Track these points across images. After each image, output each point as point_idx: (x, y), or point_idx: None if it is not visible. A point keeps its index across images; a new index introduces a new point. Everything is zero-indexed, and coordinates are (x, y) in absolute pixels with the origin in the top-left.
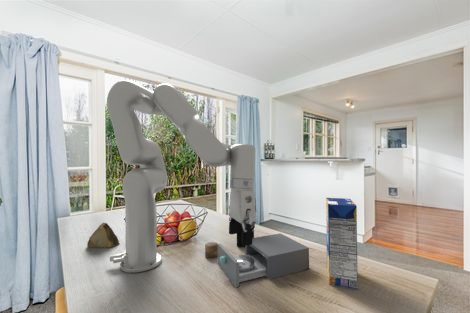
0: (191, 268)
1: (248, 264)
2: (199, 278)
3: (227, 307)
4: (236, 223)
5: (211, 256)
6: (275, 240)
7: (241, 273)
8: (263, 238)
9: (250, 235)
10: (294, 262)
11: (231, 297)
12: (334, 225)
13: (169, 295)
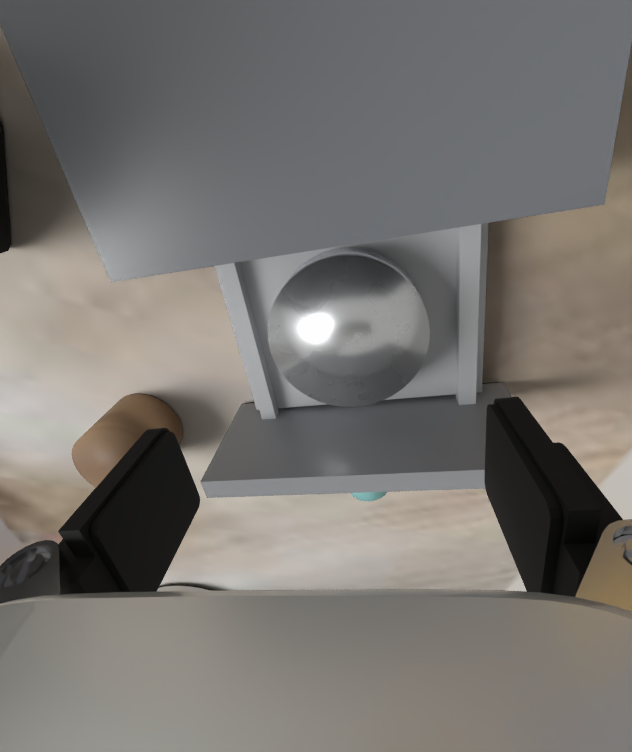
0: (267, 514)
1: (425, 325)
2: (360, 503)
3: (615, 460)
4: (119, 538)
5: (177, 438)
6: None
7: (428, 356)
8: (78, 34)
9: (604, 509)
10: None
11: (561, 432)
12: None
13: (434, 584)
